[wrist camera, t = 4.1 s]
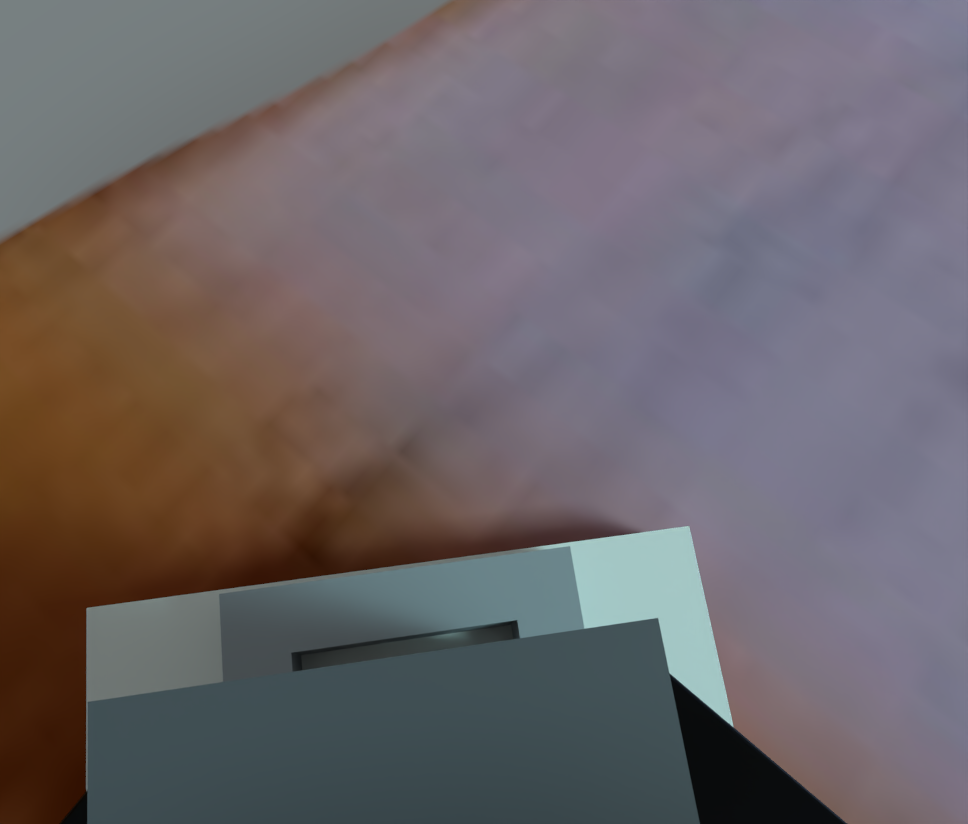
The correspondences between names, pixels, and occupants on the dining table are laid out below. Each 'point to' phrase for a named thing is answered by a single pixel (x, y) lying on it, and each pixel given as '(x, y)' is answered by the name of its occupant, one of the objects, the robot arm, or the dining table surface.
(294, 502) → the dining table surface
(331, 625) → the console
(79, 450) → the dining table surface
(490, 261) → the dining table surface
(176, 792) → the fader
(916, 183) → the dining table surface
